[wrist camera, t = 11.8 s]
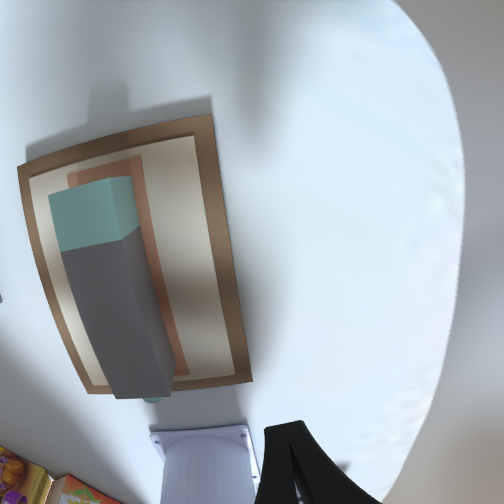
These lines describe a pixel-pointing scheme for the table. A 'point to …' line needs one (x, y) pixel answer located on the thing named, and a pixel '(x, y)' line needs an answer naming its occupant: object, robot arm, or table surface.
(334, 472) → the robot arm
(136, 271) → the marker
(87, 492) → the cracker box
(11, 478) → the candy box
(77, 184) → the wooden picture frame
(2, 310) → the table surface
